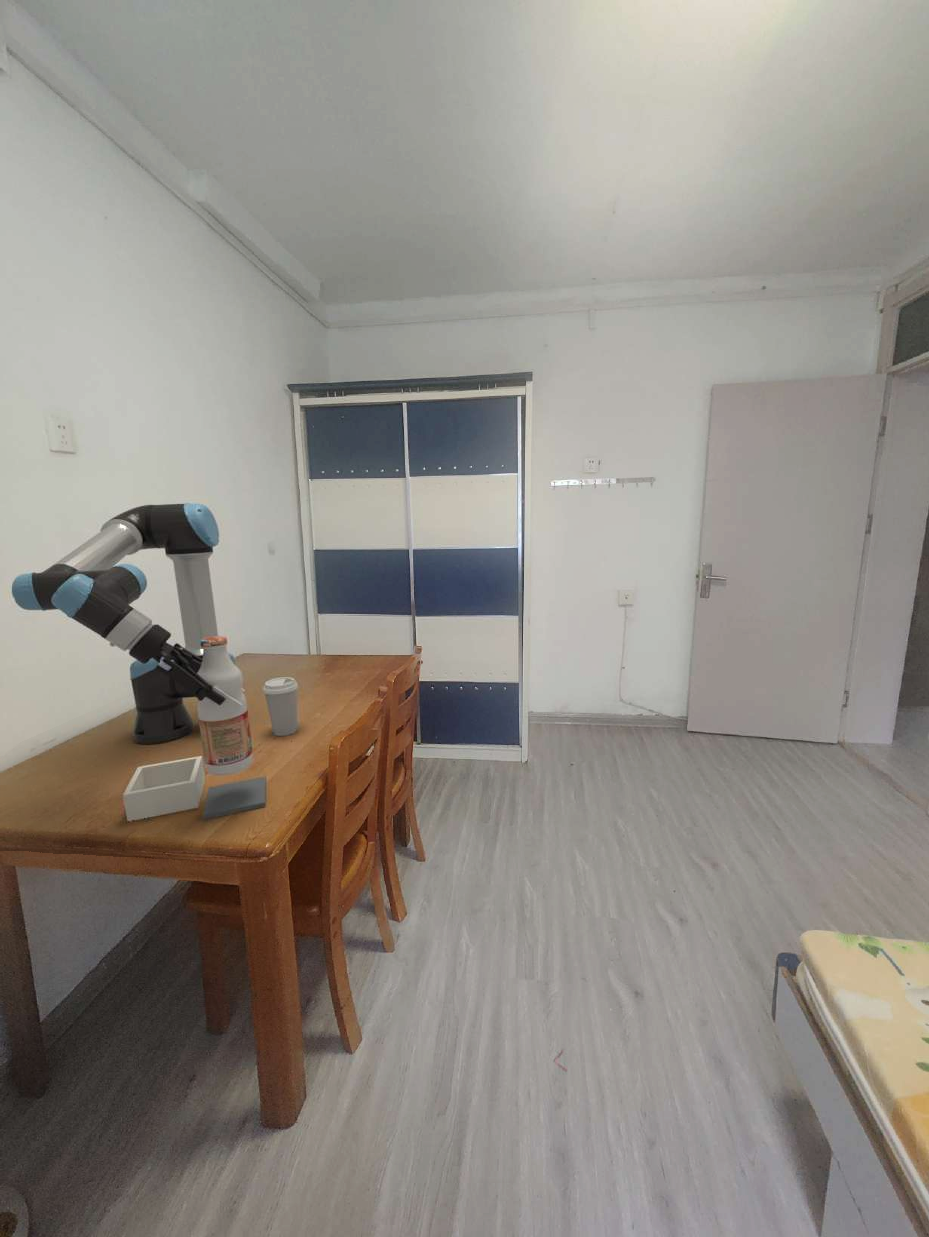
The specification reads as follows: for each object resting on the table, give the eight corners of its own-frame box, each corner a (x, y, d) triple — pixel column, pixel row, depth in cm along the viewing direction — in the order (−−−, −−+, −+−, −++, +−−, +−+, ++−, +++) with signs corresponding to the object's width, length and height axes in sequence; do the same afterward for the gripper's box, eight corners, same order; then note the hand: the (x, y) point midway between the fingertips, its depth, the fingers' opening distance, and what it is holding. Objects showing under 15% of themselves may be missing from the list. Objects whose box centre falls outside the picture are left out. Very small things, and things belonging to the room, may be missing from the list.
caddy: (142, 791, 117) (138, 766, 116) (205, 779, 121) (201, 755, 120) (127, 821, 105) (122, 795, 104) (198, 807, 109) (194, 781, 108)
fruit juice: (195, 771, 108) (176, 642, 102) (232, 753, 116) (217, 632, 111) (227, 780, 104) (209, 646, 98) (263, 760, 112) (248, 635, 107)
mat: (209, 791, 116) (208, 787, 116) (266, 780, 120) (265, 776, 120) (202, 819, 105) (202, 815, 105) (265, 806, 109) (265, 802, 109)
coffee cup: (291, 739, 142) (286, 687, 139) (260, 737, 144) (254, 686, 141) (308, 725, 151) (303, 676, 148) (279, 724, 153) (273, 675, 150)
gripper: (140, 640, 110) (230, 699, 118) (111, 666, 90) (222, 735, 98) (164, 613, 110) (252, 674, 119) (141, 633, 90) (249, 705, 99)
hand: (238, 702), depth 108 cm, fingers closed on fruit juice, 9 cm apart
